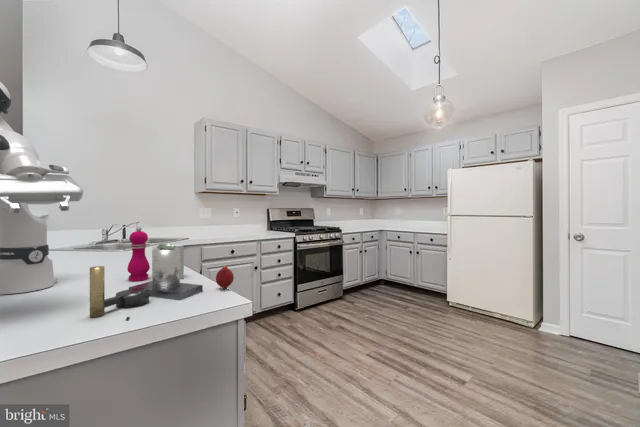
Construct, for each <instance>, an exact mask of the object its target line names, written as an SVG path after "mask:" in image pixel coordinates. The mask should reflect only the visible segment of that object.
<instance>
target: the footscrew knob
mask: <svg viewBox="0 0 640 427" xmlns="http://www.w3.org/2000/svg"><path fill="white" fill-rule="evenodd" d="M105 281H106V280H105V265H97V266H95V265H94V266H91V267H89V317H90V318H91V317H92V318H95V317H100V316H104V315H105V308H108V307H111V306H114V305H115V306H116V307H118V308H134V307H138V306H142V305H145V304H148V303H149V302H150V296H149V290H148V289H144V288H137V289H129V288H128V289H124V290H121V291H118V292H116V293H115V296H112V297H109V298H105V288H106V287H105Z"/></svg>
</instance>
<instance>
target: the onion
mask: <svg viewBox="0 0 640 427" xmlns="http://www.w3.org/2000/svg"><path fill="white" fill-rule="evenodd" d="M234 277H235V276H234V273H233V271H232V270H231V269H230V268H228V265H226V264H225V265H223V267H222V268H221V269H220V270H219V271H217V273H216V275H215V282H216V283H217V285H218V286H219V287H221V288H222V289H225V288H226V289H227V288H228V287H229V286H230V285H231V284H232V283H233V282H234V279H235V278H234ZM223 287H224V288H223Z"/></svg>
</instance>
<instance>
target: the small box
mask: <svg viewBox="0 0 640 427" xmlns="http://www.w3.org/2000/svg"><path fill="white" fill-rule="evenodd" d="M170 245H175V248H180V280H182V278H183V279H184V277H185V275H184V274H185V273H184V270H185V267H184V265H185V263H184V260H185V258H184V256H185V255H184V250H185V248H184V244H180V243H175V244H174V243H172V244H170ZM158 246H159V244H158V245H156V249H158Z"/></svg>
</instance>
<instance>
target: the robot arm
mask: <svg viewBox="0 0 640 427" xmlns="http://www.w3.org/2000/svg"><path fill="white" fill-rule="evenodd" d="M11 103H12V98H11V94H10V92H9V89H8V88H7V87H6V86H5V84H3V83H2V82H1V81H0V296H1V295H13V294H22V293H23V294H24V293H28V292H35V291H38V290H44V289H47V288H48V289H49V288H50V287H52V286H54V284H56V283H59V281H58V278H55V274H54V266H53V260H52V259H51V258H50V257H49V254H50V249H49V248H50V247H49V244H48V234H47V233H48V232H47V231H48V229H47V228H48V226H47V225H48V224H47V223H46V221H45V220H44V219H43V218H41V217H39V216H37V215H34V214H33V213H32V212H31V211H30V209H29V206H28V205H52V204H57V203H58V204H59V205H58V206H59V208H58V209H60V211H61V212H67V211H69V210H70V204H69V203H70V202H80V200H82V198H83V194H84V189H83V186H81V184H80V182H79V181H78V180H77V179H76V177H75V176H73V175H71V174H70V170H69V169H68V168H67V167H65V166H60V165H56V164H52V163H51V164H50V163H49V162H44V161H42V160H40V157H39V153H38V152H37V151H36V148H35V146H34V145H33V144H32V143H31V141H30V140H29V139H27V138H26V137H25V136H23V135H22V134H20V133H19V132H16V131H14V129H13V128H12V127H11V125H9V123H7V121H6V120H5V119H4V118H3V117H2V116H1V114H2V113H3V114H4V115H7V114H8V113H9V112H8V110H9V108H10V107H11Z"/></svg>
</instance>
